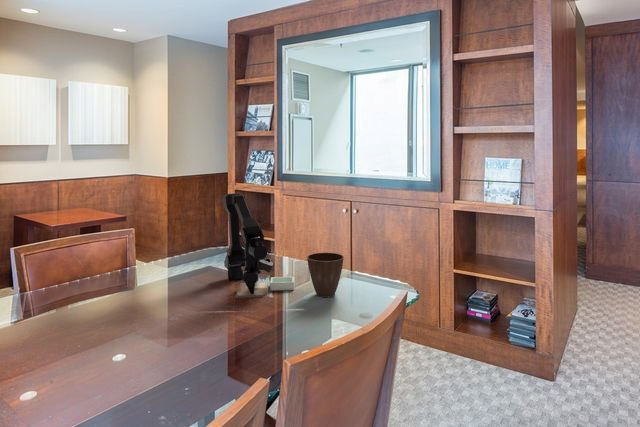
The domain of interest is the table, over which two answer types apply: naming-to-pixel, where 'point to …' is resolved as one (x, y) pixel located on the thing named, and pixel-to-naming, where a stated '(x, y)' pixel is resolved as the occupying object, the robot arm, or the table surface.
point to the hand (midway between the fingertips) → (253, 291)
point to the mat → (253, 295)
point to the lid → (258, 290)
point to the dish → (281, 283)
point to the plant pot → (325, 272)
